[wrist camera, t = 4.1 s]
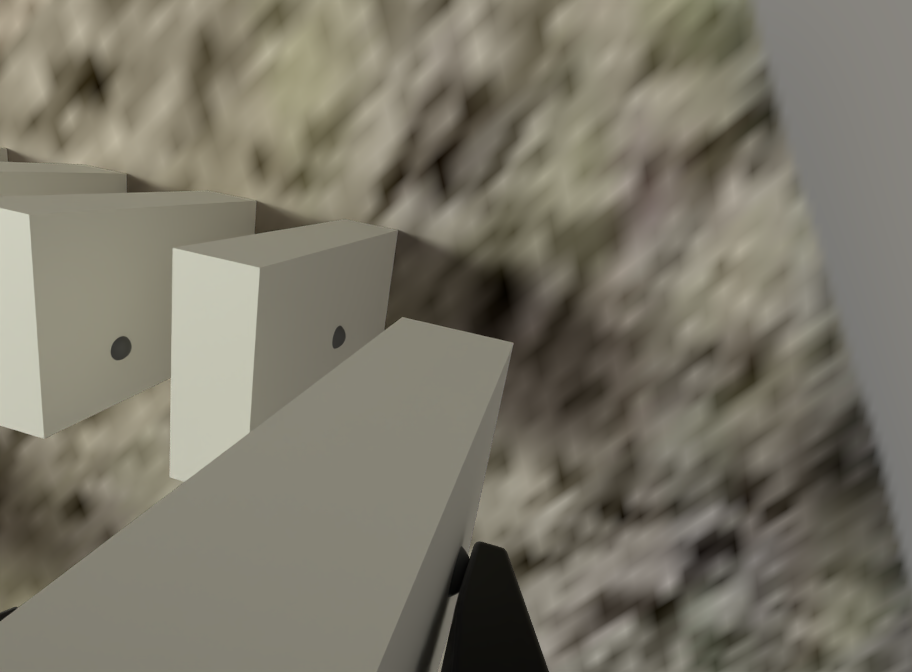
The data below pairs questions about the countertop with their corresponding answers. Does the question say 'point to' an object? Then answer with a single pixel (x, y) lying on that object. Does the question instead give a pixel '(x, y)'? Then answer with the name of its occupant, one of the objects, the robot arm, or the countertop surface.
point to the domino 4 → (298, 532)
